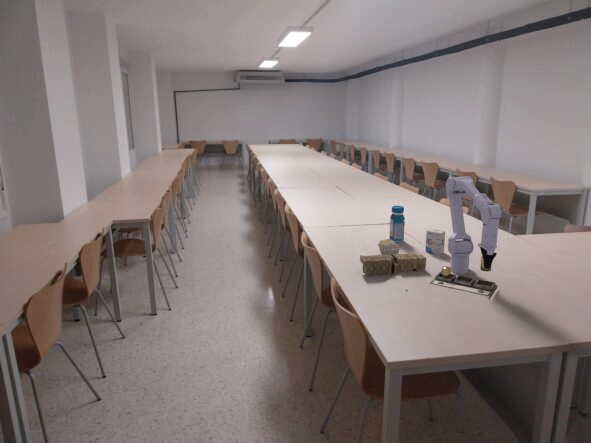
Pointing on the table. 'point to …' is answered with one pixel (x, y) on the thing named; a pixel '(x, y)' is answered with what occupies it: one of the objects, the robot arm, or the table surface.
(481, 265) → the brass peg
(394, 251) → the fossil replica
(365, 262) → the block tower
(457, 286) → the board
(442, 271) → the placed peg
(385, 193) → the table surface
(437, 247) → the ink box
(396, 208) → the beverage bottle
